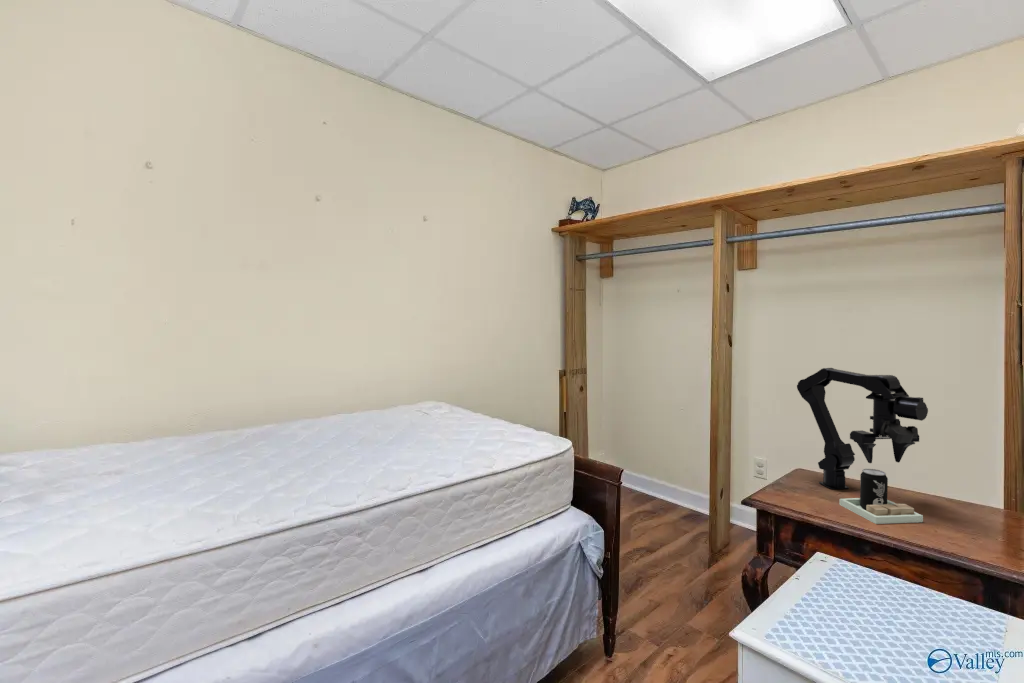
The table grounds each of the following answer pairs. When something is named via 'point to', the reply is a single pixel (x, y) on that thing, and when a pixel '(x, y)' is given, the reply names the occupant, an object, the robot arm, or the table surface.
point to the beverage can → (873, 487)
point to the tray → (855, 507)
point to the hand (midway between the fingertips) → (883, 462)
